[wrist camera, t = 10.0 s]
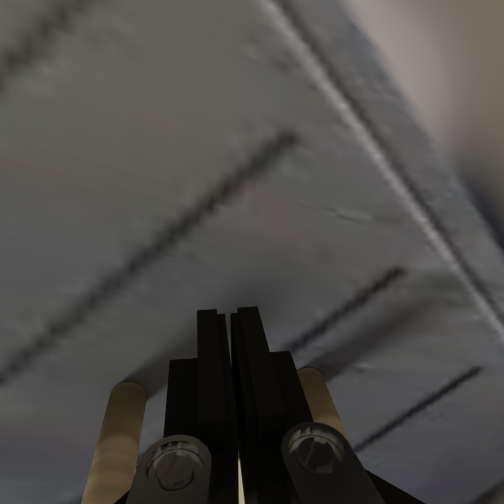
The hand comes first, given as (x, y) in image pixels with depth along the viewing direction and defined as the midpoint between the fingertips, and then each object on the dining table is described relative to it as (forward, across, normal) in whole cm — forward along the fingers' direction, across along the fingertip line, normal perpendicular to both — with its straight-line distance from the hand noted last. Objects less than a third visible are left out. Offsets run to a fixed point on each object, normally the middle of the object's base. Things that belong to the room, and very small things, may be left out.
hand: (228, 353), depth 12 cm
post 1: (+13, +6, +13) cm, 20 cm away
